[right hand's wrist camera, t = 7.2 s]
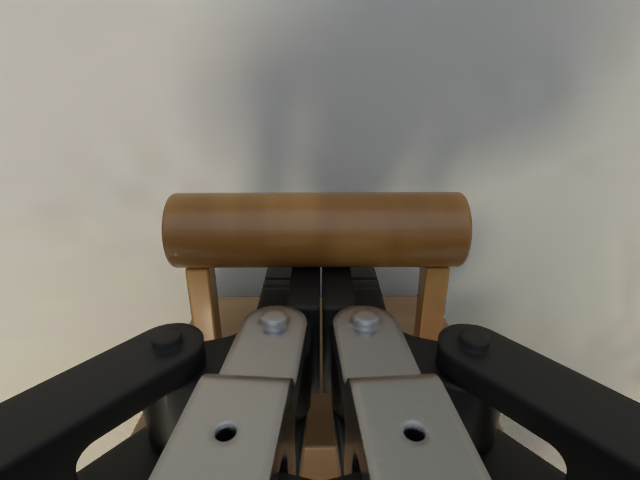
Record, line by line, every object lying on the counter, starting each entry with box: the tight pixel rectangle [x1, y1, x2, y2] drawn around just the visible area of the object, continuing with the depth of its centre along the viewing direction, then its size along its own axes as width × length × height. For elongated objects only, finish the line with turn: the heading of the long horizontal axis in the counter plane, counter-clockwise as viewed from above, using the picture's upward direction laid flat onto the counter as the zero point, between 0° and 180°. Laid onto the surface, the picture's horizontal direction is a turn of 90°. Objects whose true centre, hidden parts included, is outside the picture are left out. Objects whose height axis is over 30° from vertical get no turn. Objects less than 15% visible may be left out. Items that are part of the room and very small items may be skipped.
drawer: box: [131, 192, 503, 480], centre depth 15 cm, size 21×9×7 cm, turn 0°
